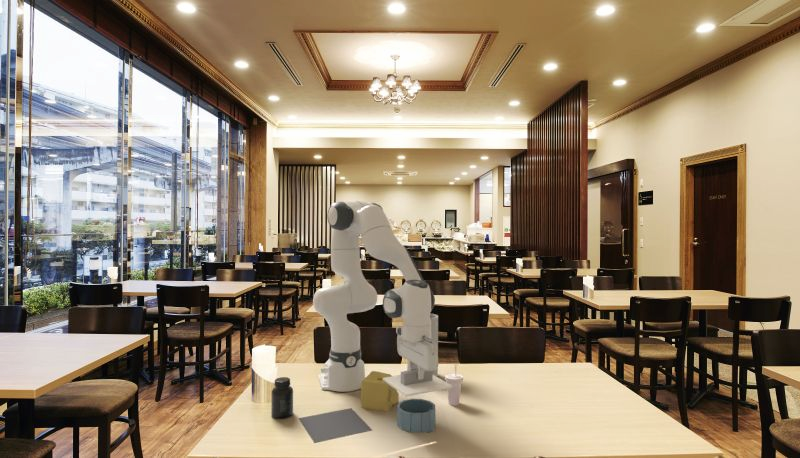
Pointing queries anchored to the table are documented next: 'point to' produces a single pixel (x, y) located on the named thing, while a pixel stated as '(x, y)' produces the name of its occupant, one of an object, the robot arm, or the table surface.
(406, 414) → the bowl
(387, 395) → the cheese
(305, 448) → the table surface
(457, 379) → the smoothie
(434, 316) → the cylinder vase
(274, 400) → the supplement bottle
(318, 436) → the mat
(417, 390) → the square lid
